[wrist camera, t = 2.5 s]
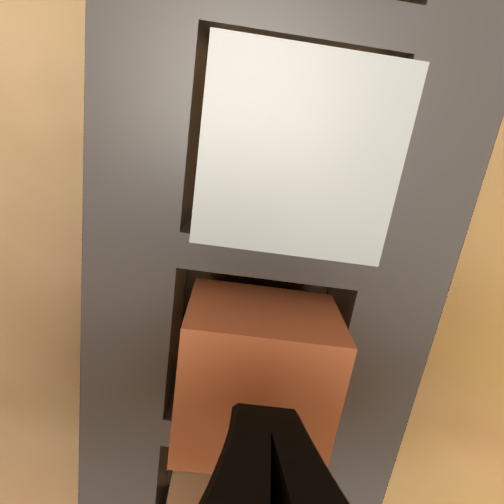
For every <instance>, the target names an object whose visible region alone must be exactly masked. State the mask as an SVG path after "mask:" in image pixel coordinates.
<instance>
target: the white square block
mask: <svg viewBox="0 0 504 504" xmlns="http://www.w3.org/2000/svg"><path fill="white" fill-rule="evenodd" d="M429 63H430V62H426V61H420V60H414V59H408V58H401V57H395V56H389V55H383V54H376V53H370V52H364V51H358V50H351V49H345V48H339V47H333V46H326V45H320V44H314V43H308V42H301V41H295V40H289V39H283V38H276V37H270V36H264V35H258V34H251V33H245V32H239V31H233V30H226V29H220V28H214V27H210V36H209V46H208V56H207V66H206V76H205V87H204V97H203V107H202V117H201V127H200V137H199V148H198V158H197V168H196V178H195V188H194V198H193V209H192V219H191V229H190V239H189V242H190V243H198V244H205V245H213V246H221V247H229V248H236V249H244V250H252V251H260V252H267V253H275V254H283V255H290V256H298V257H306V258H314V259H321V260H329V261H337V262H345V263H352V264H360V265H368V266H375V267H378V266H379V262H380V258H381V254H382V250H383V246H384V242H385V238H386V234H387V230H388V226H389V222H390V218H391V214H392V210H393V206H394V202H395V198H396V194H397V190H398V186H399V182H400V178H401V174H402V170H403V166H404V162H405V159H406V155H407V151H408V147H409V143H410V139H411V135H412V131H413V127H414V123H415V119H416V115H417V111H418V107H419V103H420V99H421V95H422V91H423V87H424V83H425V79H426V75H427V71H428V67H429Z"/></svg>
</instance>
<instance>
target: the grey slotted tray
mask: <svg viewBox="0 0 504 504" xmlns="http://www.w3.org/2000/svg"><path fill="white" fill-rule="evenodd" d="M210 27H214V28H220V29H226V30H233V31H239V32H245V33H251V34H258V35H264V36H270V37H276V38H283V39H289V40H295V41H301V42H308V43H314V44H320V45H326V46H333V47H339V48H345V49H351V50H358V51H364V52H370V53H376V54H383V55H389V56H395V57H401V58H408V59H414V60H420V61H426V62H430V63H429V67H428V71H427V75H426V79H425V83H424V87H423V91H422V95H421V99H420V103H419V107H418V111H417V115H416V119H415V123H414V127H413V131H412V135H411V139H410V143H409V147H408V151H407V155H406V159H405V162H404V166H403V170H402V174H401V178H400V182H399V186H398V190H397V194H396V198H395V202H394V206H393V210H392V214H391V218H390V222H389V226H388V230H387V234H386V238H385V242H384V246H383V250H382V254H381V258H380V262H379V266H378V267H375V266H368V265H360V264H352V263H345V262H337V261H329V260H321V259H314V258H306V257H298V256H290V255H283V254H275V253H267V252H260V251H252V250H244V249H236V248H229V247H221V246H213V245H205V244H198V243H190V242H189V239H190V229H191V219H192V209H193V198H194V188H195V178H196V168H197V158H198V148H199V137H200V127H201V117H202V107H203V97H204V87H205V76H206V66H207V56H208V46H209V36H210ZM503 116H504V0H86V14H85V83H84V151H83V219H82V288H81V356H80V424H79V493H78V504H166V502H167V497H168V492H169V487H166V478H167V463H168V453H169V443H170V432H171V422H172V412H173V402H174V392H175V382H176V371H177V361H178V351H179V341H180V331H181V326H182V316H183V306H184V296H185V286H186V276H187V269H188V270H196V271H204V272H212V273H220V274H228V275H236V276H244V277H252V278H260V279H268V280H276V281H284V282H292V283H300V284H308V285H316V286H324V287H329V288H328V293H327V294H330V295H332V297H333V299H334V301H335V303H336V305H337V307H338V309H339V311H340V313H341V315H342V318H343V320H344V322H345V324H346V326H347V328H348V330H349V332H350V334H351V336H352V338H353V340H354V343H355V345H356V347H357V349H358V350H357V354H356V358H355V362H354V366H353V370H352V374H351V378H350V382H349V386H348V390H347V394H346V398H345V402H344V406H343V410H342V413H341V417H340V421H339V425H338V429H337V433H336V437H335V441H334V445H333V449H332V453H331V457H330V461H329V465H328V469H329V471H330V473H331V474H332V476H333V478H334V479H335V481H336V482H337V484H338V486H339V487H340V489H341V490H342V492H343V494H344V495H345V497H346V498H347V500H348V502H349V503H350V504H382V502H383V499H384V496H385V493H386V489H387V486H388V483H389V480H390V477H391V473H392V470H393V467H394V464H395V461H396V457H397V454H398V451H399V448H400V445H401V441H402V438H403V435H404V432H405V429H406V425H407V422H408V419H409V416H410V413H411V409H412V406H413V403H414V400H415V397H416V394H417V390H418V387H419V384H420V381H421V378H422V374H423V371H424V368H425V365H426V362H427V358H428V355H429V352H430V349H431V346H432V342H433V339H434V336H435V333H436V330H437V326H438V323H439V320H440V317H441V314H442V310H443V307H444V304H445V301H446V298H447V294H448V291H449V288H450V285H451V282H452V279H453V275H454V272H455V269H456V266H457V263H458V259H459V256H460V253H461V250H462V247H463V243H464V240H465V237H466V234H467V231H468V227H469V224H470V221H471V218H472V215H473V211H474V208H475V205H476V202H477V199H478V195H479V192H480V189H481V186H482V183H483V179H484V176H485V173H486V170H487V167H488V164H489V160H490V157H491V154H492V151H493V148H494V144H495V141H496V138H497V135H498V132H499V128H500V125H501V122H502V119H503Z"/></svg>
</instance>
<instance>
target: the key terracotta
mask: <svg viewBox="0 0 504 504" xmlns="http://www.w3.org/2000/svg"><path fill="white" fill-rule="evenodd" d="M357 350H358V349H357V347H356V345H355V343H354V340H353V338H352V336H351V334H350V332H349V330H348V328H347V326H346V324H345V322H344V320H343V318H342V315H341V313H340V311H339V309H338V307H337V305H336V303H335V301H334V299H333V297H332V295H330V294H322V293H314V292H306V291H298V290H290V289H282V288H274V287H266V286H258V285H250V284H242V283H234V282H226V281H218V280H210V279H202V278H196V279H195V283H194V286H193V289H192V293H191V296H190V299H189V303H188V306H187V309H186V313H185V316H184V319H183V323H182V326H181V331H180V341H179V351H178V361H177V371H176V382H175V392H174V402H173V412H172V422H171V432H170V443H169V453H168V463H167V470H174V471H184V472H195V473H205V474H212V473H213V471H214V468H215V466H216V464H217V461H218V459H219V456H220V454H221V451H222V448H223V445H224V442H225V439H226V436H227V433H228V430H229V424H230V417H231V411H232V407H233V406H234V405H236V404H237V403H243V404H252V405H261V406H271V407H280V408H289V409H295V411H296V412H297V413H298V415H299V417H300V418H301V420H302V422H303V424H304V426H305V428H306V430H307V432H308V434H309V436H310V438H311V439H312V441H313V443H314V445H315V447H316V448H317V450H318V452H319V454H320V456H321V457H322V459H323V461H324V463H325V464H326V466H327V468H328V465H329V461H330V457H331V453H332V449H333V445H334V441H335V437H336V433H337V429H338V425H339V421H340V417H341V413H342V410H343V406H344V402H345V398H346V394H347V390H348V386H349V382H350V378H351V374H352V370H353V366H354V362H355V358H356V354H357Z"/></svg>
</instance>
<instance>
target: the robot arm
mask: <svg viewBox="0 0 504 504" xmlns="http://www.w3.org/2000/svg"><path fill="white" fill-rule="evenodd" d="M198 504H350V503H349V502H348V500H347V498H346V497H345V495H344V494H343V492H342V490H341V489H340V487H339V486H338V484H337V482H336V481H335V479H334V478H333V476H332V474H331V473H330V471H329V469H328V468H327V466H326V464H325V463H324V461H323V459H322V457H321V456H320V454H319V452H318V450H317V448H316V447H315V445H314V443H313V441H312V439H311V438H310V436H309V434H308V432H307V430H306V428H305V426H304V424H303V422H302V420H301V418H300V417H299V415H298V413H297V412H296V411H295V409H289V408H280V407H271V406H261V405H252V404H243V403H237V404H236V405H234V406H233V407H232V411H231V417H230V424H229V430H228V433H227V436H226V439H225V442H224V445H223V448H222V451H221V454H220V456H219V459H218V461H217V464H216V466H215V468H214V471H213V473H212V476H211V478H210V480H209V483H208V485H207V487H206V489H205V491H204V493H203V495H202V497H201V499H200V501H199V503H198Z"/></svg>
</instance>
